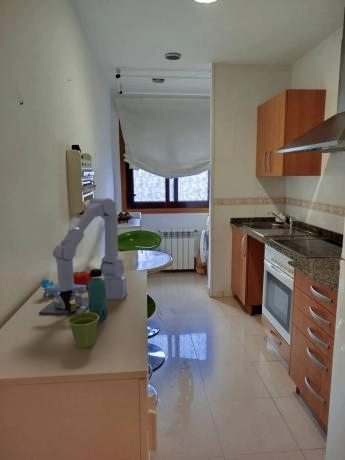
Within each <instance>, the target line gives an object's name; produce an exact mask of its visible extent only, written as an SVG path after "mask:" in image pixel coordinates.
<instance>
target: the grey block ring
mask: <svg viewBox="0 0 345 460" xmlns="http://www.w3.org/2000/svg"><path fill="white" fill-rule="evenodd" d="M73 293H74V294H76V295H75V300H71V301H69V303H70V308H69V309H70V310H71V312H73V311H77V307H78V306H80V305H82V304H83V297H84V295H83V294H82V293H79V291H73ZM53 301H54V303H55V307H56V308H59V309H65V303H64V301H63V300H62V298H61V297H60V292H57V293H56V296H55V298H54V300H53Z"/></svg>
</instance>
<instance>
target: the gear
mask: <svg viewBox="0 0 345 460" xmlns="http://www.w3.org/2000/svg"><path fill="white" fill-rule="evenodd" d="M40 284H41V287H42V288H44V289H43V291H44V293H43V294H44V295H45V296H47V294H48V295H49V296H50V295H52V296H53V297H55V298H56V293H57V292H46V288H47V287H48V286H55V285H58V282H56V283H55V282H54V280H50V279H48V278H47V279H46V278H44V279H42V281H41V282H40Z"/></svg>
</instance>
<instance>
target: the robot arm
mask: <svg viewBox="0 0 345 460" xmlns="http://www.w3.org/2000/svg"><path fill="white" fill-rule="evenodd" d="M116 205H117V204H116V202H115V201H114V200H113V199H112V198H110V197H108V198H103V197H102V198H98V197H93V198H90V200H89V202H88V203H87V204H86V209H85V211H84V212H83V215H82V216H81V217H80V219H79V221H78V223H77V225H76V226H75V227H70V229H68V230H67V232H68V233H66V235H65V237H64V238H63V239H62V240H61V242H60V243H58V244H57V245H55V247H54V249H53V251H52V256H53V257H54V258H55V262H56V269H57V270H56V271H57V284H58V285H55V284H54V285H55V286H48V287H47V288H46V291H45V292H60V297H61V298H62V300H63V301H64V303H65V310H69V308H70V303H69V301H70V298H71V295H72V293H73V291H78V292H86V291H87V287H86V285H76V284H74V276H73V274H74V265H73V264H74V260H73V258H74V257H75V256H76V254H77V251H76V250H77V248H78V246H79V245H80V243H81V242H82V240H83V239H84V237H85V233H84V231H86V229H87V228H88V227H89V226H90V224H91V223H92V221H93V220H94V219H95V218H97V217H101V219H103V221H104V253H105V254H104V256H103V257H102V258H101V261H100V262H101V264H100V266H99V269H100V270H101V273H102V276H103V280H104V281H105V288H106V289H105V291H106V300H125V299H124V298H125V297H126V296H127V294H128V285H127V284H128V282H127V278H126V277H125V276H123V275H124V273H125V265H124V261H123V258H121V257H120V255H119V245H118V244H119V243H118V242H119V241H118V240H119V239H118V237H119V235H118V234H119V233H118V231H119V229H118V213H117V210H116V208H117V207H116Z"/></svg>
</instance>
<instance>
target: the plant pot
mask: <svg viewBox="0 0 345 460" xmlns="http://www.w3.org/2000/svg"><path fill="white" fill-rule="evenodd" d="M98 320H99V315H98V314H96V313H91V312H89V311H88V312H87V311H85V312H84V313H79V314H76V315H73V316H70V317H69V318H68V319H67V323H68V324H69V327H70V328H71V332H72V336H73V341H74V346H75V348H78V349H82V350H83V349H88V348H89V347H90V348H91V347H93V346H95V344H96V338H97V325H98V324H99V323H98Z"/></svg>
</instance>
